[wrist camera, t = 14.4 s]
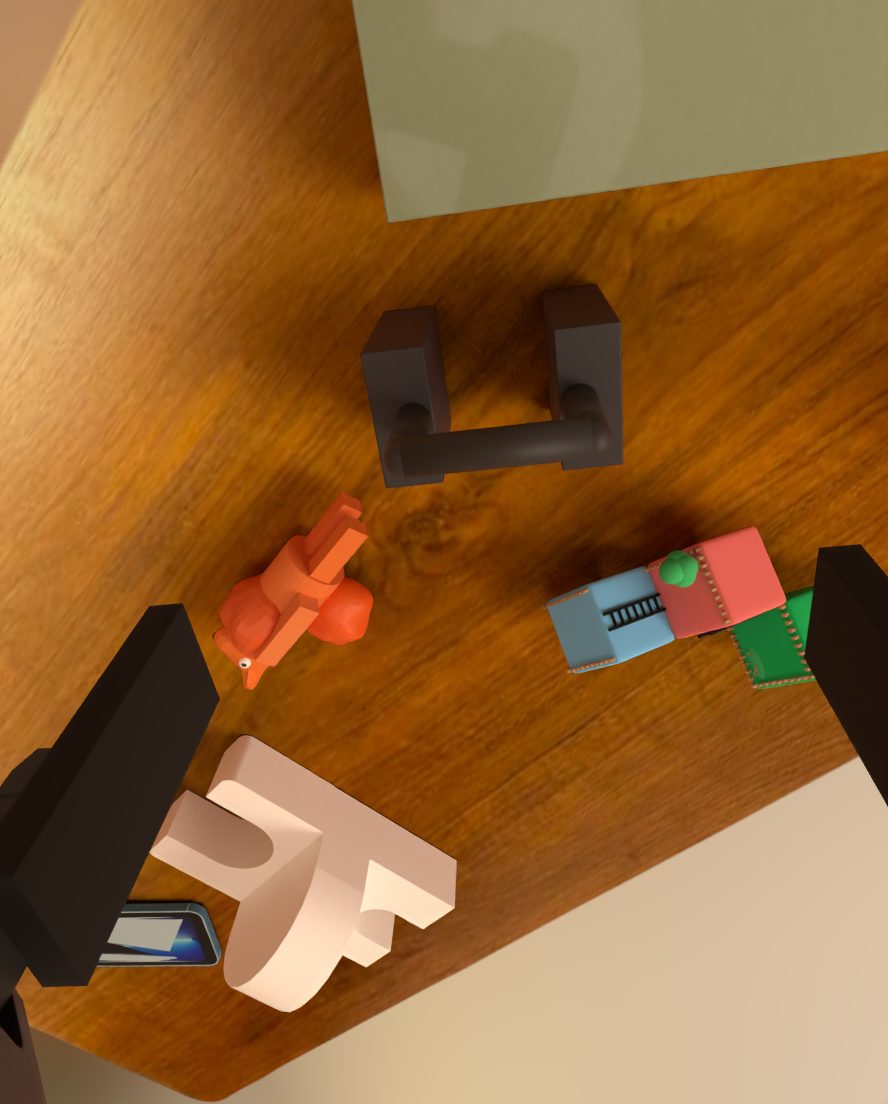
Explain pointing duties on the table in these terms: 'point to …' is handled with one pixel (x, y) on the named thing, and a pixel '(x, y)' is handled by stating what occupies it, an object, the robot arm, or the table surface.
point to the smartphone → (162, 937)
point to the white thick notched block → (300, 872)
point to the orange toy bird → (298, 595)
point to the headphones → (570, 438)
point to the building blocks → (691, 610)
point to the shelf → (611, 93)
